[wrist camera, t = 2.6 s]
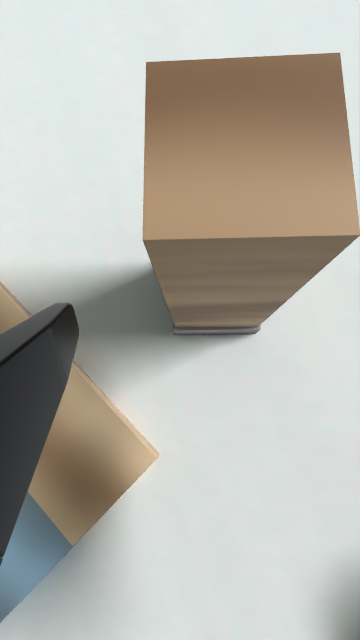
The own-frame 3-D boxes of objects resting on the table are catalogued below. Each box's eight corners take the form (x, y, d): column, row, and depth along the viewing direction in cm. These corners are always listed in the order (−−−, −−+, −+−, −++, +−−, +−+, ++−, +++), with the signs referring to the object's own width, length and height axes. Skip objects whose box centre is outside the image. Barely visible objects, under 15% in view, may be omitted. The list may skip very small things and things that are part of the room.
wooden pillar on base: (255, 333, 19) (368, 241, 7) (174, 334, 20) (135, 246, 7) (252, 256, 20) (345, 47, 8) (174, 258, 21) (140, 57, 8)
